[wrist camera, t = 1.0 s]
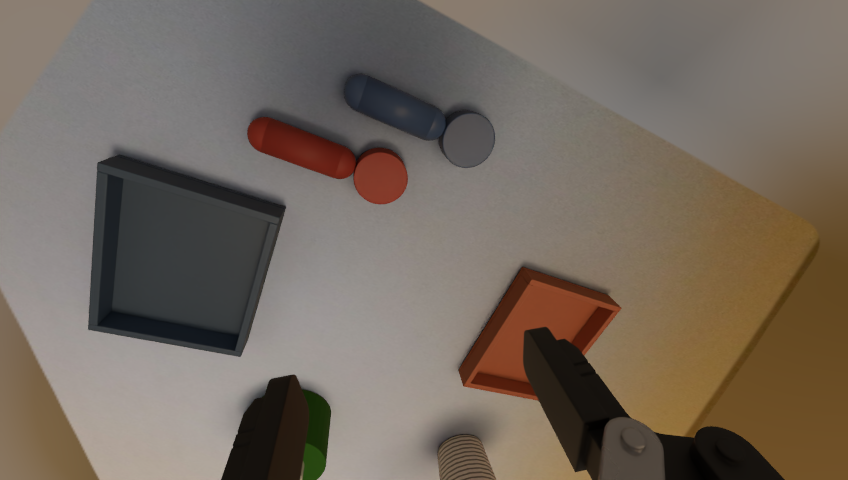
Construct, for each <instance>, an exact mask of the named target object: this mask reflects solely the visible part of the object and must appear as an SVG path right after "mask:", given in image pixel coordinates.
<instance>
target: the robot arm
mask: <svg viewBox="0 0 848 480" xmlns="http://www.w3.org/2000/svg"><path fill="white" fill-rule="evenodd" d="M523 366H524V370H525V373H526V376H527V378H528V380H529V382H530V384H531V386H532V388H533V390H534V392H535V394H536V396H537V398H538V400H539V402H540V404H541V406H542V408H543V410H544V412H545V414H546V416H547V418H548V420H549V422H550V424H551V425H552V427H553V429H554V431H555V433H556V435H557V437H558V439H559V441H560V443H561V445H562V447H563V449H564V451H565V453H566V455H567V457H568V459H569V461H570V463H571V465H572V467H573V469H574V471H575V472H578V471H583V470H587V471H588V473H589V475H590V476H591V478H592V480H784V479H783V478H782V476H781V475H780V474H779V473H778V472H777V471H776V470H775V469H774V468H773V467H772V466H771V465H770V464H769V463H768V461H767V460H766V459H765V458H764V457H763V456H762V455H761V454H760V453H759V452H758V451H757V450H756V449H755V448H754V447H753V446H752V445H751V444H750V443H749V442H748V441H746V440H745V439H744V438H742V437H741V436H739V435H737V434H735V433H734V432H731V431H729V430H726V429H723V428H719V427H712V426H711V427H704V428H702V429H700V430H699V431H698V432H697V433H696V435H695V438H691V437H682V436H673V435H665V434H659V433H656V432H653V431H652V430H651V429H650V428H649V427H647V426H646V425H644V424H643V423H641V422H639V421H637V420H634V419H632V418H631V417H630V416H629V415H628V414H627V413H626V412H625V410H624V409H623V408H622V406H621V405H620V404H619V402H618V401H617V400H616V398H615V397H614V396H613V394H612V393H611V392H610V390H609V389H608V388H607V386H606V385H605V383H604V382H603V381H602V379H601V378H600V377H599V375H598V374H596V372H595V370H594V369H593V367H592V366H591V365H590V363H588V361H587V359H586V358H585V356H584V355H583V354H582V352H581V351H580V350H579V348H577V347H576V346H575V345H573V344H572V343H570V342H569V341H567V340H566V339H560V340H556V338H555V337H554V336H553V334H552V333H551V331H550V330H549V329H548V328H547V327H540V328H535V329H530V330H525V332H524V344H523ZM308 425H309V408H308V404H307V401H306V398H305V396H304V394H303V391H302V389H301V386H300V384H299V381H298V379H297V377H296V375H288V376H283V377H278V378H273V379H271V380H270V381H269V383H268V386H267V389H266V393H265V396H264V397H263V398H257V399H255V400H254V401H253V402H252V404H251V405H250V406H249V408H248V409H247V411H246V412H245V413H244V415H243V418H242V421H241V423H240V426H239V429H238V434H237V435H236V438H235V441H234V444H233V449H232V450H231V453H230V456H229V458H228V461H227V464H226V467H225V470H224V473H223V476H222V479H221V480H300V477H301V470H302V464H303V457H304V451H305V444H306V438H307V431H308Z"/></svg>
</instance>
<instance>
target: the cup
mask: <svg viewBox="0 0 848 480" xmlns="http://www.w3.org/2000/svg"><path fill="white" fill-rule="evenodd" d="M437 456H438V465H439V475H440V480H496V478H495V475H494V473H493V470H492V468H491V465H490V463H489V460H488V458H487V455H486V453H485V450H484V447H483V445H482V442H481V441H480V440H479V439H478V438H477V437H475V436H471V435H459V436H456V437H452V438H450V439H448V440H447V441H445V442H444V443H443V444H442V445H441V446H440V447H439V451H438V454H437Z"/></svg>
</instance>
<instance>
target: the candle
mask: <svg viewBox="0 0 848 480" xmlns="http://www.w3.org/2000/svg"><path fill="white" fill-rule="evenodd" d="M302 391H303V394H304V396H305V398H306V401H307V404H308V408H309V425H308V431H307V438H306V444H305V451H304V457H303V464H302V470H301V477H300V480H317V479H318V478H319V477H320V476H321V475H322V473H323V472H324V470H325V467H326V458H327V448H328V438H329V427H330V417H331V410H330V406H329V405H328V403H327V402H326V401H325V400H324V399H323V398H322V397H321V396H319V395H318V394H316V393H313V392H311V391H307V390H303V389H302ZM264 396H265V395H264ZM264 396H263V397H264ZM263 397H262V398H263Z"/></svg>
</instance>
